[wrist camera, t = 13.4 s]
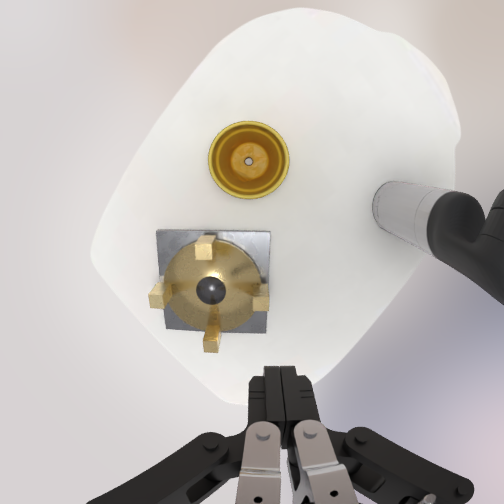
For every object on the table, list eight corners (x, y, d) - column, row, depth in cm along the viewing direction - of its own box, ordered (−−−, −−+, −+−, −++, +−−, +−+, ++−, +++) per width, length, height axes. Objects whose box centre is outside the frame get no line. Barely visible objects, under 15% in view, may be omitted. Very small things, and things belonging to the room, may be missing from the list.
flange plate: (270, 231, 46) (270, 233, 45) (265, 330, 52) (265, 334, 51) (158, 229, 46) (155, 231, 45) (167, 326, 52) (165, 329, 51)
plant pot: (234, 203, 45) (229, 213, 36) (206, 147, 42) (194, 142, 33) (292, 177, 44) (302, 179, 34) (265, 120, 41) (268, 107, 32)
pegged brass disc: (155, 233, 45) (141, 243, 39) (267, 233, 45) (270, 243, 39) (167, 329, 51) (158, 349, 44) (265, 332, 51) (267, 353, 44)
